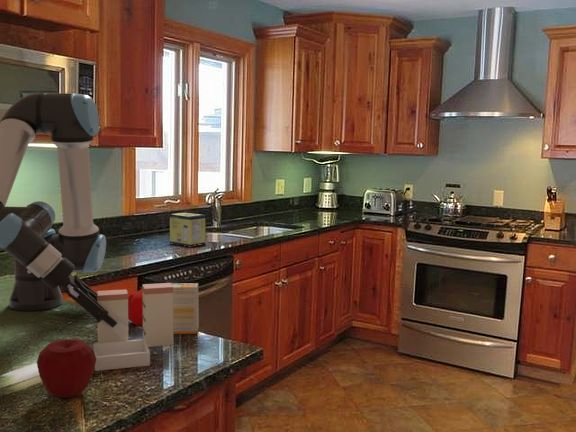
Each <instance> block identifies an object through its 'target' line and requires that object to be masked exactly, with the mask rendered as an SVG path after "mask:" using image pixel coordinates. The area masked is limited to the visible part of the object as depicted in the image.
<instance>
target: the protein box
mask: <svg viewBox="0 0 576 432" xmlns="http://www.w3.org/2000/svg"><path fill="white" fill-rule="evenodd" d="M170 243H173V244H178V245H186V246H194V245H198V244H205V245H206V215H205V214H199V213H188V212H177V213H170V214H169V244H170ZM178 245H177V246H178Z"/></svg>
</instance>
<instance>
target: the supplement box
mask: <svg viewBox="0 0 576 432" xmlns="http://www.w3.org/2000/svg"><path fill="white" fill-rule="evenodd" d="M170 283H171V284H172V286H173V335H197V334H198V331H199V325H200V323H199V322H200V321H199V320H200V319H199V318H200V317H199V316H200V315H199V311H200V309H199V304H200V303H199V283H198V282H197V283H196V282H195V283H194V282H193V283H192V282H191V283H190V282H189V283H186V282H184V283H182V282H181V283H180V282H179V283H178V282H170ZM196 333H197V334H196Z"/></svg>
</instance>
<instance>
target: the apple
mask: <svg viewBox="0 0 576 432" xmlns="http://www.w3.org/2000/svg"><path fill="white" fill-rule="evenodd" d="M95 363H96V356H95V353H94V348H93V347H92V346H91V345H89V344H88V343H86V341H83V340H82V339H78V338H72V339H71V338H69V339H67V338H66V339H59V340H54V341H52V342H49V343H48V344H47V345H46V346H45V347H44V348H43V349H42V350H41V351H40V352H39V355H38V358H37V360H36V366H37V370H38V374H39V378H40V380H41V382H42V384H43V385H44V387H45V388H46V391H47V392H48V393H50V394H51V395H53V396H54V397H58V398H60V399H70V398H75V397H77V396H78V395H80V394H81V393H83V391H85V389H86V388H87V387H88V385H89V383H90V381H91V379H92V377H93V374H94V371H95Z"/></svg>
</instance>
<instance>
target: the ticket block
mask: <svg viewBox="0 0 576 432" xmlns="http://www.w3.org/2000/svg"><path fill="white" fill-rule="evenodd" d="M171 283H172V282H165V283H164V282H163V283H162V282H160V283H145V284H141V285H142V286H141V287H142V290H143V300H142V304H143V313H142V317H143V326H141V327H142V328H141V329H142V339H146V342H147V345H148V348H150V347H151V348H152V347H153V348H154V347H161V346H162V347H163V346H173V345H174V334H173V286H172V284H171Z"/></svg>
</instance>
